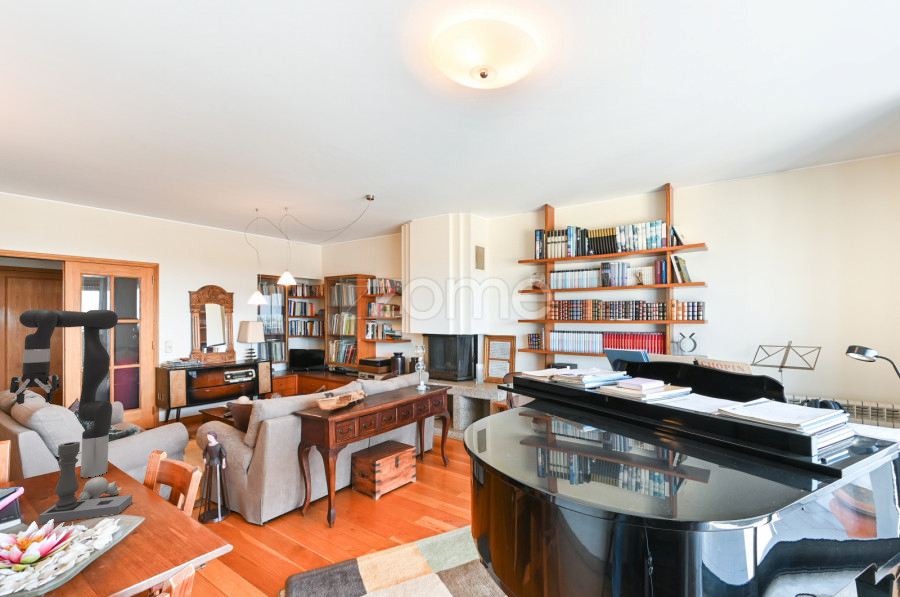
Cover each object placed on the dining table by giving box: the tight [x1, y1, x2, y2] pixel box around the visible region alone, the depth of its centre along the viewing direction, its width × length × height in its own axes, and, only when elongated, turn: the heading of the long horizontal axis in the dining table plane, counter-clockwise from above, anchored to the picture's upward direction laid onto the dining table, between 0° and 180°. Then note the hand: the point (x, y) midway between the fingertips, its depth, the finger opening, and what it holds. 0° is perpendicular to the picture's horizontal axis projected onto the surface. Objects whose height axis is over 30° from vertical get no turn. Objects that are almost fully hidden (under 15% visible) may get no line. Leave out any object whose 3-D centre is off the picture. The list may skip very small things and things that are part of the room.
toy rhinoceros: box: [78, 476, 122, 500], centre depth 157 cm, size 7×12×8 cm, turn 138°
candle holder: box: [54, 441, 81, 512], centre depth 144 cm, size 6×6×25 cm
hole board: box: [38, 494, 133, 525], centre depth 145 cm, size 10×23×3 cm, turn 106°
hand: (34, 403), depth 155 cm, fingers open, 8 cm apart
